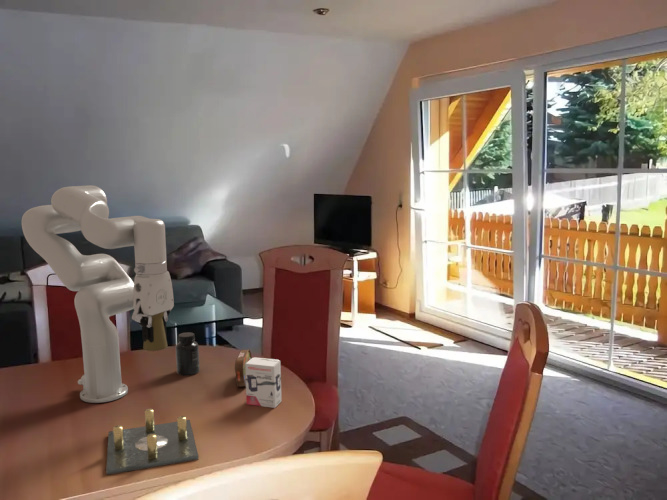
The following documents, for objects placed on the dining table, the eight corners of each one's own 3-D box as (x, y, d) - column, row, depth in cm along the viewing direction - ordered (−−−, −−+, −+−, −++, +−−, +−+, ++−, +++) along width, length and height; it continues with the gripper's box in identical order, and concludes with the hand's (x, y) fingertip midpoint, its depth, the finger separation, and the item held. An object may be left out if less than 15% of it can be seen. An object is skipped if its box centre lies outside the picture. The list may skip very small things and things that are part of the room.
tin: (245, 391, 172) (244, 362, 170) (234, 391, 172) (233, 362, 170) (253, 372, 186) (252, 345, 185) (243, 372, 187) (242, 345, 185)
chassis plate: (106, 474, 127) (104, 448, 126) (108, 435, 145) (107, 412, 144) (198, 459, 133) (197, 433, 132) (189, 423, 151) (188, 400, 150)
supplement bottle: (196, 366, 191) (195, 330, 190) (202, 373, 185) (200, 336, 183) (175, 370, 189) (172, 333, 187) (179, 377, 182) (177, 339, 180)
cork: (154, 352, 151) (152, 309, 149) (137, 348, 154) (135, 306, 152) (172, 345, 156) (170, 304, 154) (156, 341, 159) (154, 301, 157)
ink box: (245, 404, 162) (244, 362, 160) (253, 397, 167) (252, 356, 165) (275, 408, 160) (274, 365, 158) (282, 401, 164) (281, 359, 162)
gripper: (138, 276, 142) (142, 350, 145) (185, 264, 157) (188, 332, 160) (114, 273, 146) (119, 346, 149) (162, 261, 160) (165, 328, 163)
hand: (154, 338), depth 154 cm, fingers closed on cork, 4 cm apart
